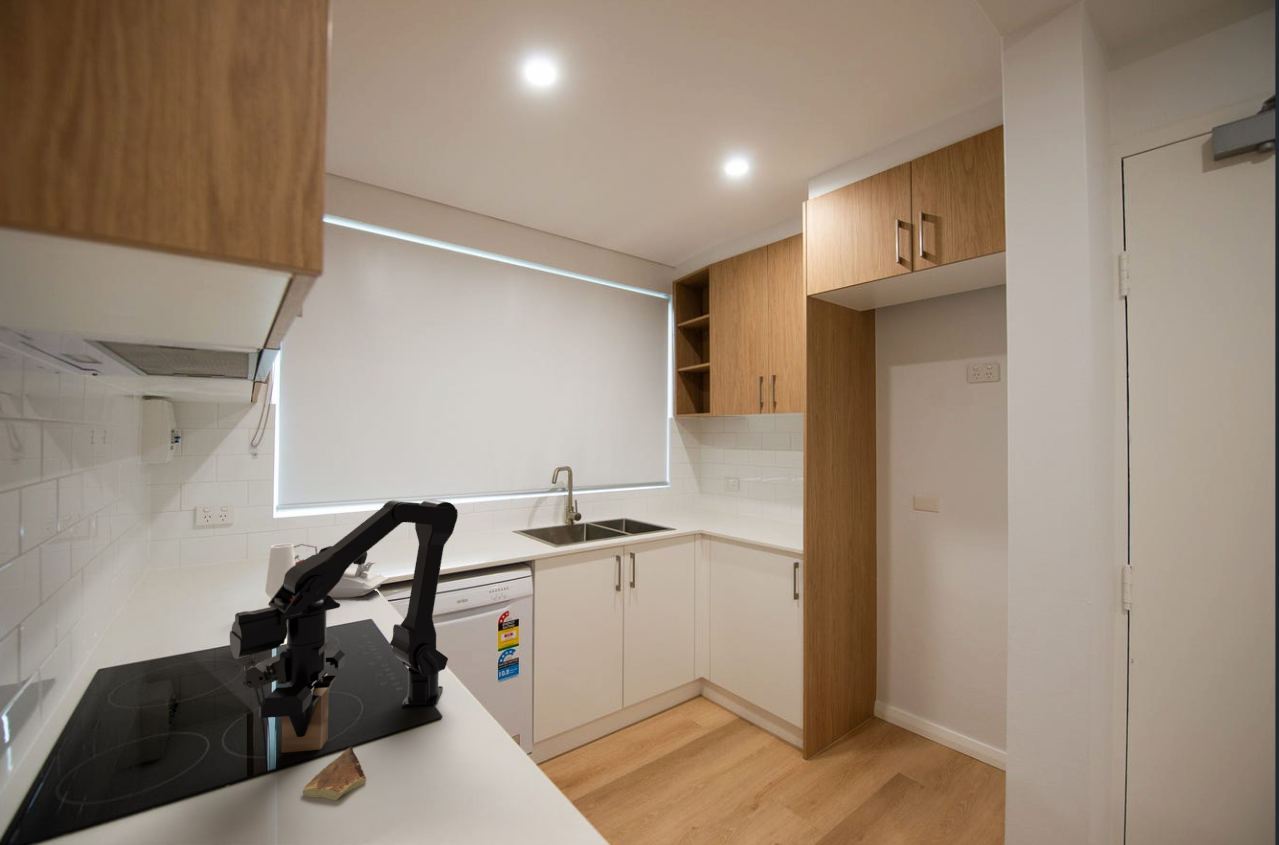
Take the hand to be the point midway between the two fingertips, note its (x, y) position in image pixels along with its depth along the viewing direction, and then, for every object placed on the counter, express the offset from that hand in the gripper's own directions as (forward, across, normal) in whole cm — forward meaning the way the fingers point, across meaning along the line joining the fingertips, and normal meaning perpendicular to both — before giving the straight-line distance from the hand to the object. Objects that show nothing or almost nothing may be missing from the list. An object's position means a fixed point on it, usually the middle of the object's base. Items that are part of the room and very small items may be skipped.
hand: (305, 730), depth 92 cm
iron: (+3, -88, -25) cm, 92 cm away
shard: (+3, +10, +8) cm, 13 cm away
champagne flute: (+3, -49, -26) cm, 56 cm away
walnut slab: (+2, 0, 0) cm, 2 cm away
